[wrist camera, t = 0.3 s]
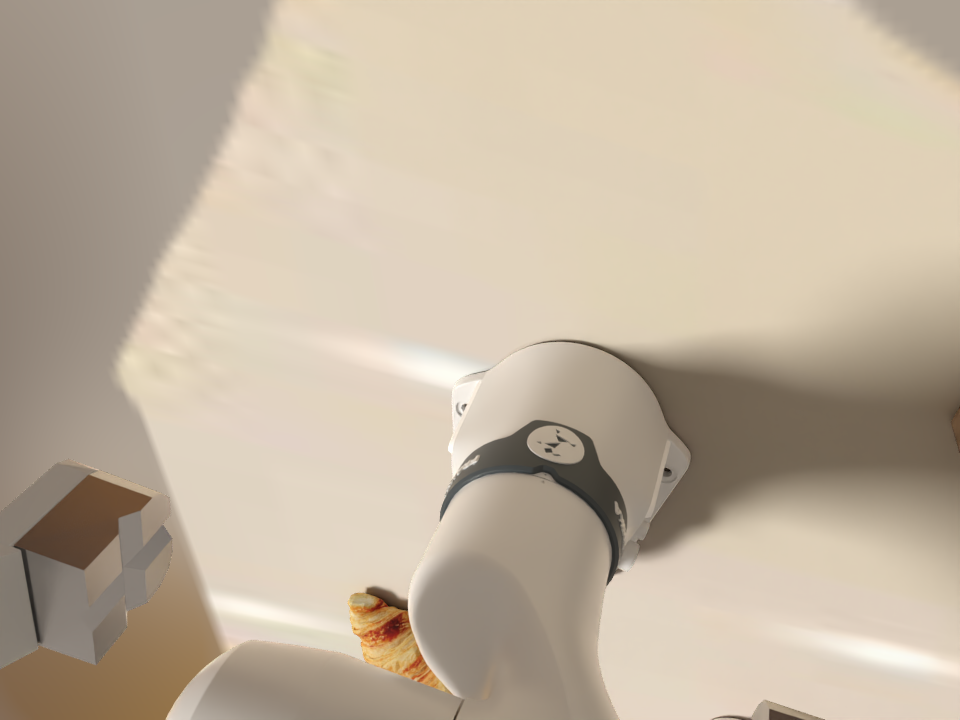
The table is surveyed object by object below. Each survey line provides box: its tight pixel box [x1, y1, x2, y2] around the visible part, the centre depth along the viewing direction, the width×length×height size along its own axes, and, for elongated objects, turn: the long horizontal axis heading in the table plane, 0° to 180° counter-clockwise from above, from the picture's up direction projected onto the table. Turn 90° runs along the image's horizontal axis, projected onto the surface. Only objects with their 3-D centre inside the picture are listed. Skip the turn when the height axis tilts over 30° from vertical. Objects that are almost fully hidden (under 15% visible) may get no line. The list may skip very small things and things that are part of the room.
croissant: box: [348, 593, 453, 695], centre depth 84 cm, size 21×10×8 cm, turn 49°
